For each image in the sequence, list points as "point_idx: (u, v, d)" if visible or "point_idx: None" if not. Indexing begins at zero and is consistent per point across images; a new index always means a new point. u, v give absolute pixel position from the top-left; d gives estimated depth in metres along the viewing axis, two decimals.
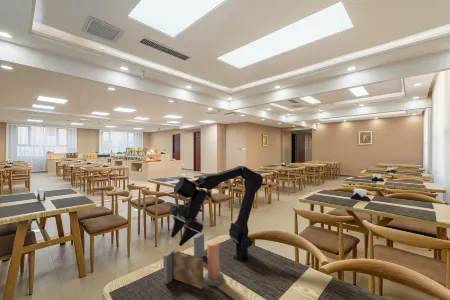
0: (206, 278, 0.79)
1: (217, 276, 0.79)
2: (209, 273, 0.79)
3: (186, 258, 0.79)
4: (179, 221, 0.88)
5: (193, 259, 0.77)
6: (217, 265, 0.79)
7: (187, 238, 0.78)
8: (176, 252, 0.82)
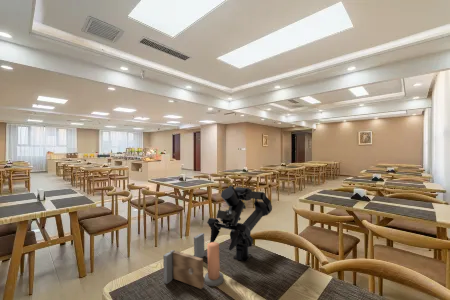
0: (206, 278, 0.79)
1: (217, 276, 0.79)
2: (209, 273, 0.79)
3: (186, 258, 0.79)
4: (216, 229, 0.91)
5: (193, 259, 0.77)
6: (217, 265, 0.79)
7: (236, 243, 0.83)
8: (176, 252, 0.82)
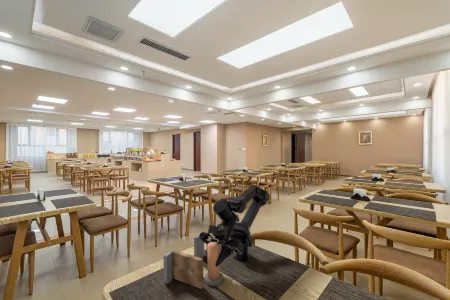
0: (206, 278, 0.79)
1: (217, 276, 0.79)
2: (209, 273, 0.79)
3: (186, 258, 0.79)
4: None
5: (193, 259, 0.77)
6: None
7: (223, 258, 0.80)
8: (176, 252, 0.82)
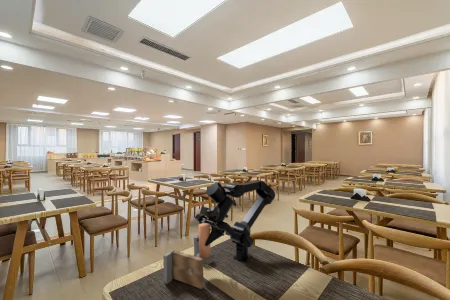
0: (197, 256, 0.83)
1: (207, 255, 0.81)
2: (199, 252, 0.82)
3: (186, 258, 0.79)
4: None
5: (193, 259, 0.77)
6: None
7: (213, 239, 0.82)
8: (176, 252, 0.82)
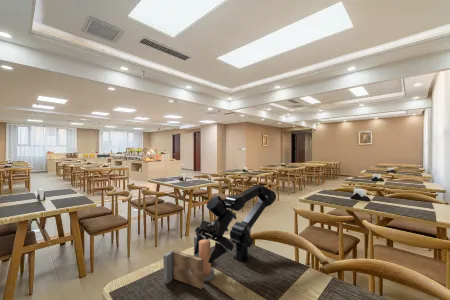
0: None
1: (207, 272, 0.81)
2: None
3: (186, 258, 0.79)
4: (202, 239, 0.89)
5: (193, 259, 0.77)
6: (207, 261, 0.82)
7: (216, 256, 0.80)
8: (176, 252, 0.82)
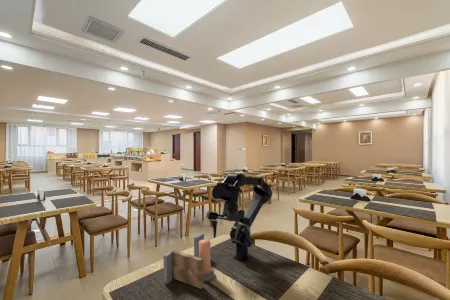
0: None
1: (207, 272, 0.81)
2: None
3: (186, 258, 0.79)
4: None
5: (193, 259, 0.77)
6: (207, 261, 0.82)
7: None
8: (176, 252, 0.82)
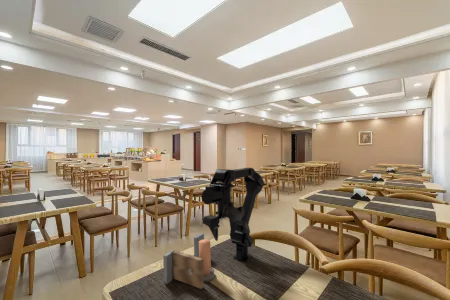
0: None
1: (207, 272, 0.81)
2: None
3: (186, 258, 0.79)
4: None
5: (193, 259, 0.77)
6: (207, 261, 0.82)
7: None
8: (176, 252, 0.82)
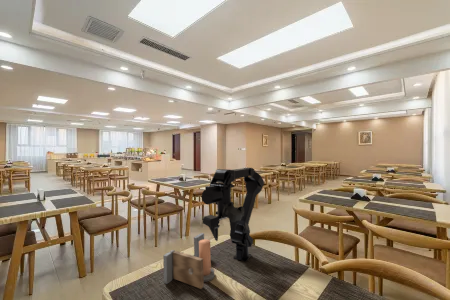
0: None
1: (207, 272, 0.81)
2: None
3: (186, 258, 0.79)
4: None
5: (193, 259, 0.77)
6: (207, 261, 0.82)
7: None
8: (176, 252, 0.82)
